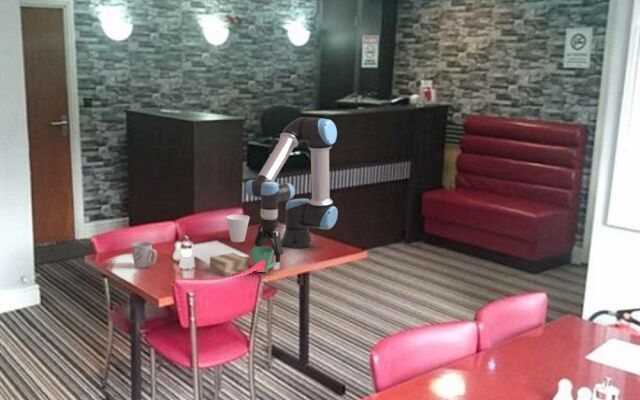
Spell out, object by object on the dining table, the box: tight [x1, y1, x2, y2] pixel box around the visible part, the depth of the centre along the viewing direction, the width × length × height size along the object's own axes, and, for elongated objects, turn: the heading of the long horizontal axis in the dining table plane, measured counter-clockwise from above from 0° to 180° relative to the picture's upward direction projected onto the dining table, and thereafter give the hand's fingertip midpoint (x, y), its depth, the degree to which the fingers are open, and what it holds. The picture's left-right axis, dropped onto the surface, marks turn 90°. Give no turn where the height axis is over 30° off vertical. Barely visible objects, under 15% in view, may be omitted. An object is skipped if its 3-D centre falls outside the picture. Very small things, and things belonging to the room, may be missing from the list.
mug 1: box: [131, 241, 158, 269], centre depth 300 cm, size 11×8×10 cm
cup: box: [225, 214, 250, 243], centre depth 348 cm, size 12×12×12 cm
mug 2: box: [250, 246, 281, 273], centre depth 300 cm, size 15×10×10 cm
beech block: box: [209, 252, 250, 277], centre depth 298 cm, size 12×12×6 cm
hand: (268, 265), depth 301 cm, fingers open, 13 cm apart
